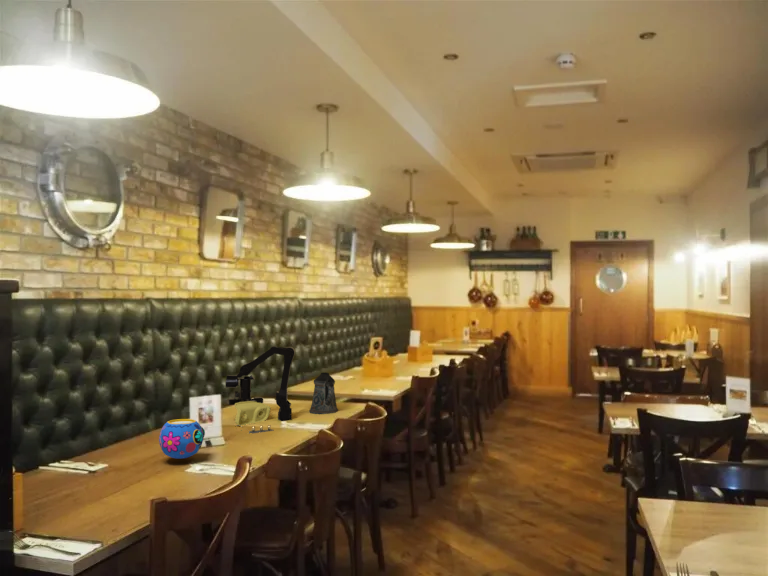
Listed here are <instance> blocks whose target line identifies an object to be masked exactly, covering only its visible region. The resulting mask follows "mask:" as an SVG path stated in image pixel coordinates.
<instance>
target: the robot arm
mask: <svg viewBox="0 0 768 576" xmlns="http://www.w3.org/2000/svg"><path fill="white" fill-rule="evenodd" d="M275 354H276V355H279V356H280V355H281V356H283V370H282V376H281V380H280V381H281V383H280V388H279V391H278V390H277V391H276V393H275V398H274V400H275V403H276V405H277V406H278V407H279V408H278V411H277V420H279V421H280V422H285V421H293V418H292V415H293V414H292V413H293V412H292V411H293V410H292V409H293V408H291V406H292V403H291V402H290V401H289V400H288V387H289V386H288V384H289V379H290V373H291V365H292V363H293V360H294V357H295V354H296V350H295V348H294V347H292V346H287V347H282V346H276V345H272V346H271V347H270V348H269V349H267V350H266V351H265V352H263V353H262V354H260V355H259V356H258V357H256V358H255V359H253V360H251V361H249V362H247V363H245V364H243V365H242V366H241V367H240V368H239V372H238V373H237V374H235V375H234V374H233V375H231V374H227V375H226V381H225V388H227V389H229V388H233V389H236V388H238V387H239V391H237V390H236V391H233V393H234V394H233V397H229V398H228V397H227V399H226V404H227V405H229V406H233V405H234V406H235V403H239V402H247V401H254V402H258V403H263V404H264V398H263V397H261V396H253V398H252V397H251V396H252V394H251V393H252V387H251V386H252V380H255V379H256V378H255V377H254V376H253V375H252V374H251V373H252V372H253V371H254V370H255V369H256V367H258V366H259V365H260V364H262V363H263V362H265V361H267V359H269V358H270V357H271V356H274V355H275ZM249 375H250V376H249Z"/></svg>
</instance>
